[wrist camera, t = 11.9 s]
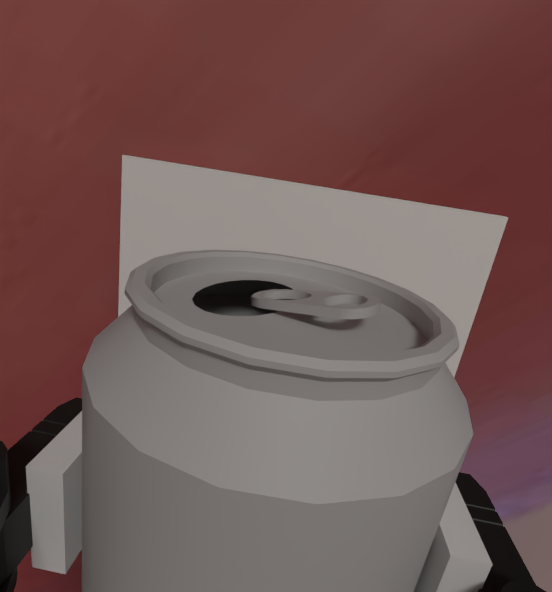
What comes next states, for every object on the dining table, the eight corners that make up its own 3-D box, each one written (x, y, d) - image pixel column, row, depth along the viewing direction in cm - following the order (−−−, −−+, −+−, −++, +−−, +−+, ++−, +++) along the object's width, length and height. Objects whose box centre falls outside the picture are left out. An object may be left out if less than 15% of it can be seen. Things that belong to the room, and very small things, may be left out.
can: (208, 513, 16) (246, 230, 12) (383, 634, 13) (505, 296, 9) (16, 713, 10) (-22, 251, 6) (266, 1058, 6) (517, 498, 3)
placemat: (122, 379, 25) (116, 385, 24) (129, 155, 21) (122, 154, 20) (427, 437, 24) (430, 446, 23) (501, 215, 20) (508, 217, 19)
